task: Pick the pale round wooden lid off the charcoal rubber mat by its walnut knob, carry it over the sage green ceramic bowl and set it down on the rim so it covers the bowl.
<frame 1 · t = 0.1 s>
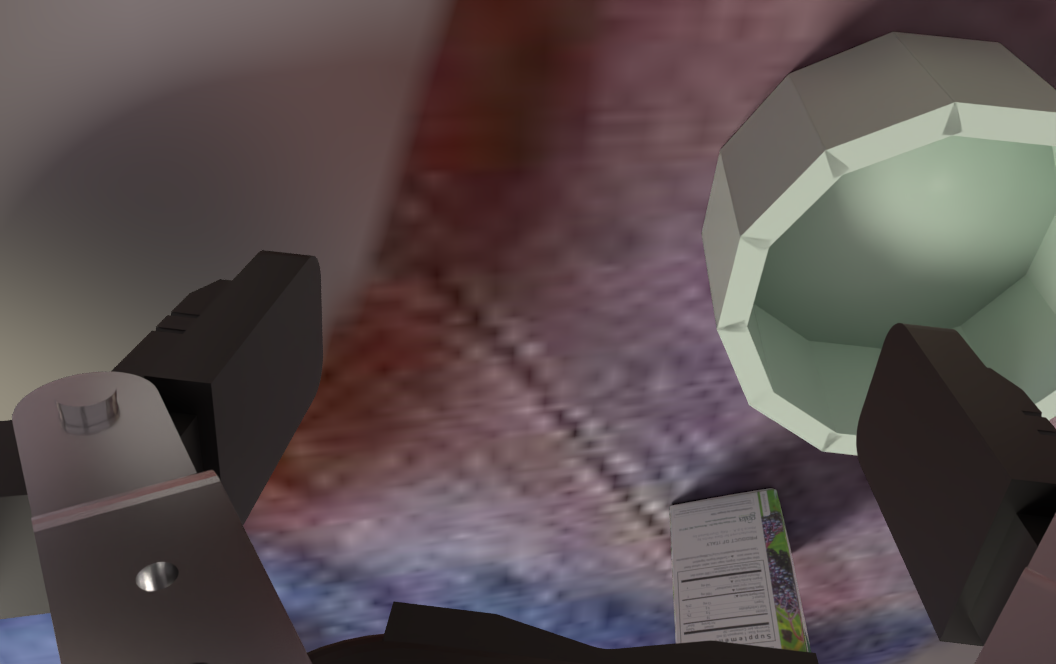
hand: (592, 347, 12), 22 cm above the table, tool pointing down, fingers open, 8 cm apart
bowl: (883, 211, 34), on the table
syrup box: (728, 527, 46), on the table
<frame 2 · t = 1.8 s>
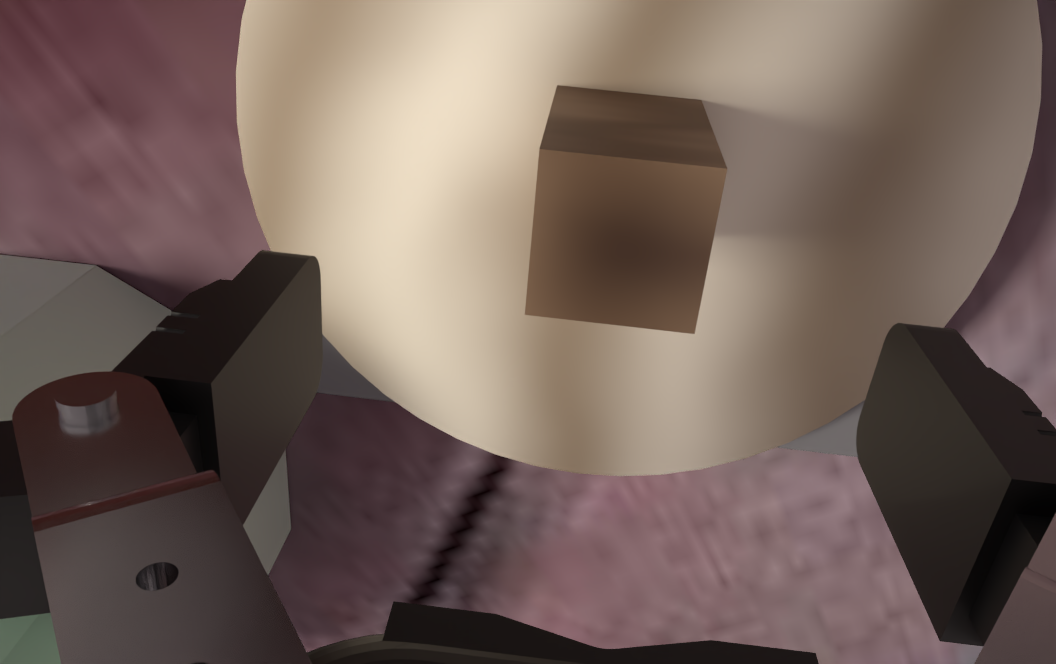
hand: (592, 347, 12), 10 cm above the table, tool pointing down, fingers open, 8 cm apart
bowl: (74, 457, 27), on the table
mat: (619, 143, 21), on the table
lid: (619, 150, 20), point 1 cm above the table, touching mat
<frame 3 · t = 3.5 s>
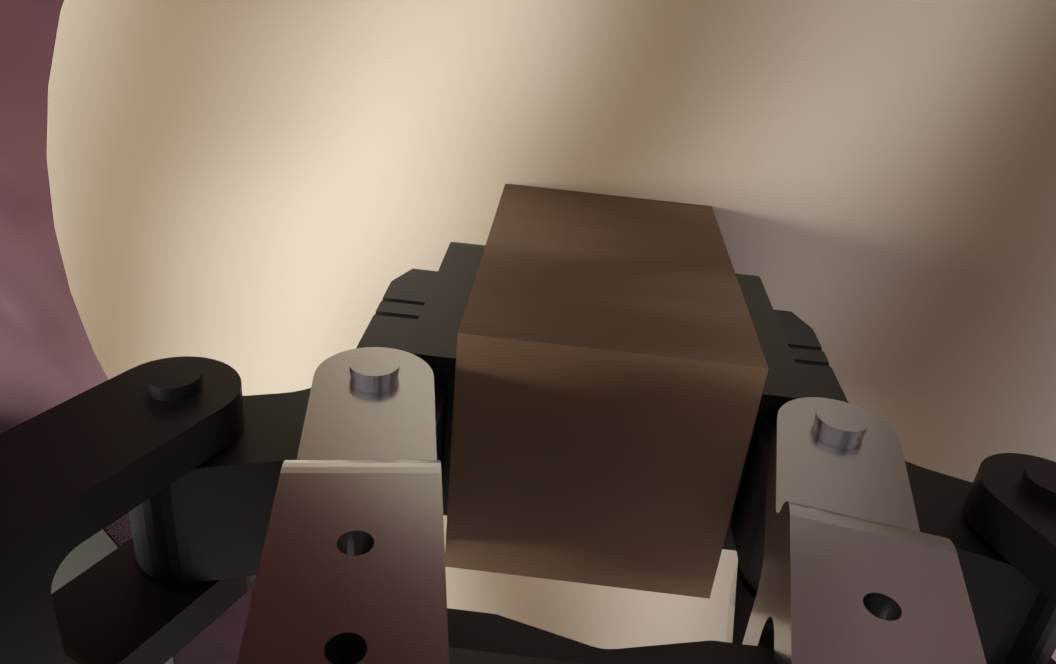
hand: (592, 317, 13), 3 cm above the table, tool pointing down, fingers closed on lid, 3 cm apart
lid: (595, 264, 15), point 1 cm above the table, touching gripper, mat
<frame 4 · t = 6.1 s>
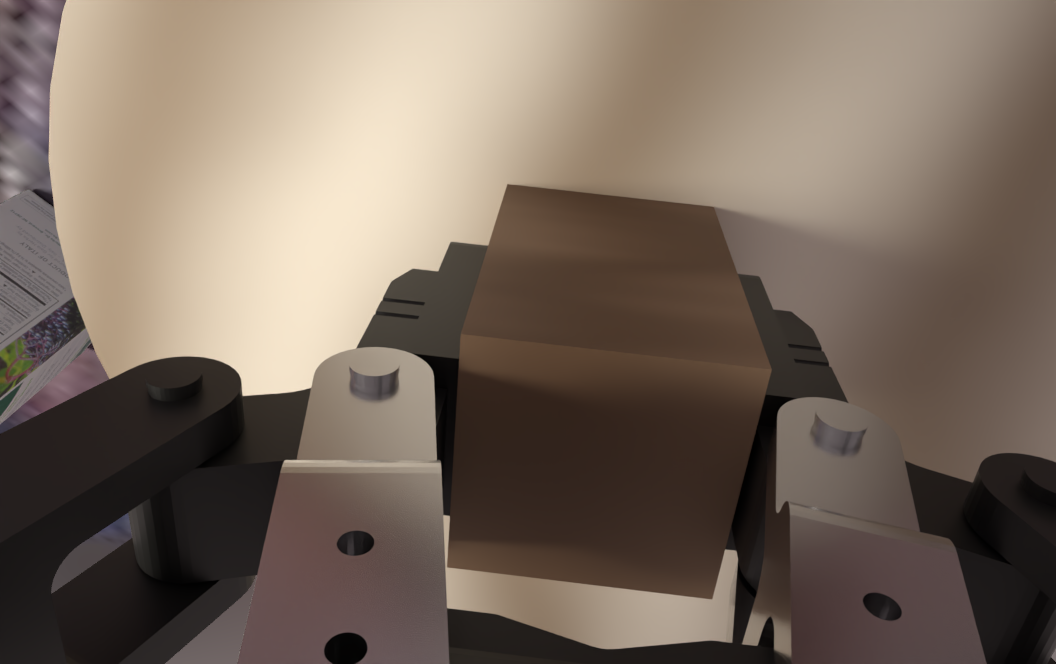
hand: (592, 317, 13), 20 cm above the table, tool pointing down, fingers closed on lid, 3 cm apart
syrup box: (60, 269, 37), on the table
lid: (597, 264, 15), point 18 cm above the table, touching gripper
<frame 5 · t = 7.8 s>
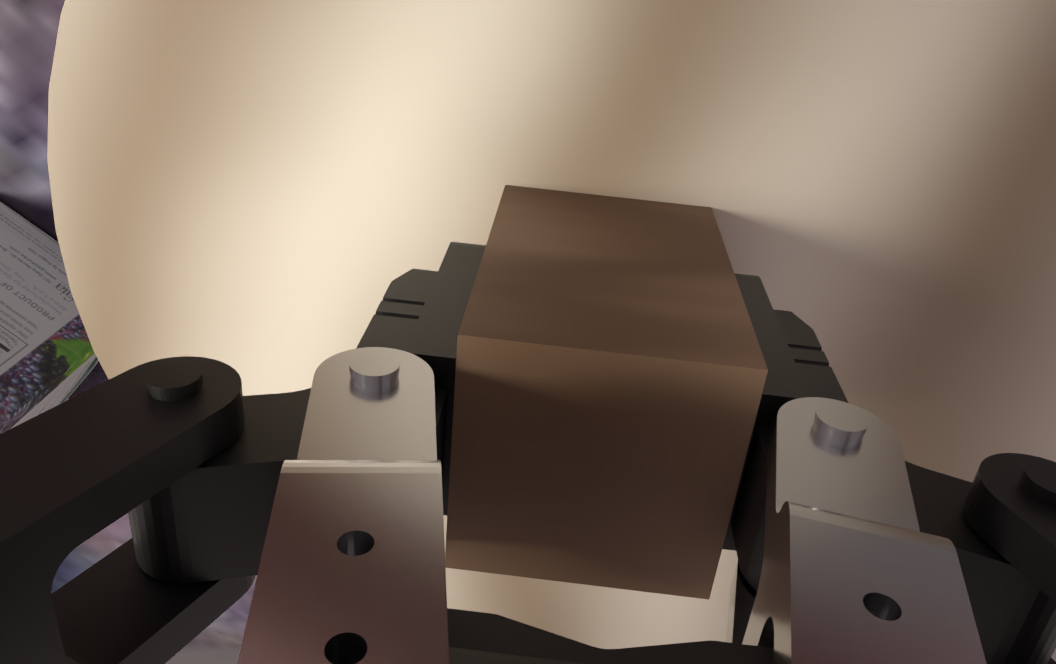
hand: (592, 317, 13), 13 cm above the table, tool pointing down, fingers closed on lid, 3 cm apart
syrup box: (32, 298, 28), on the table
lid: (595, 265, 15), point 10 cm above the table, touching gripper
when the fingers open (11 cm above the table, at t = 8.9 s): lid drops 1 cm, resting on bowl.
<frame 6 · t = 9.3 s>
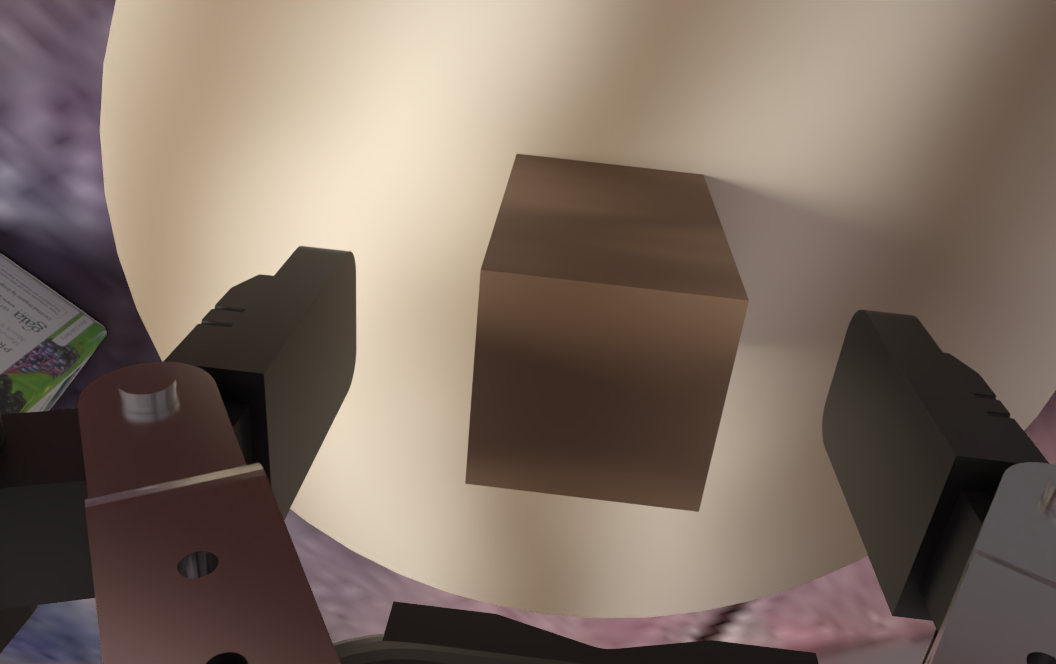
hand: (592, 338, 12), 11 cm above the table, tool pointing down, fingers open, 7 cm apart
lid: (597, 230, 16), point 7 cm above the table, touching bowl
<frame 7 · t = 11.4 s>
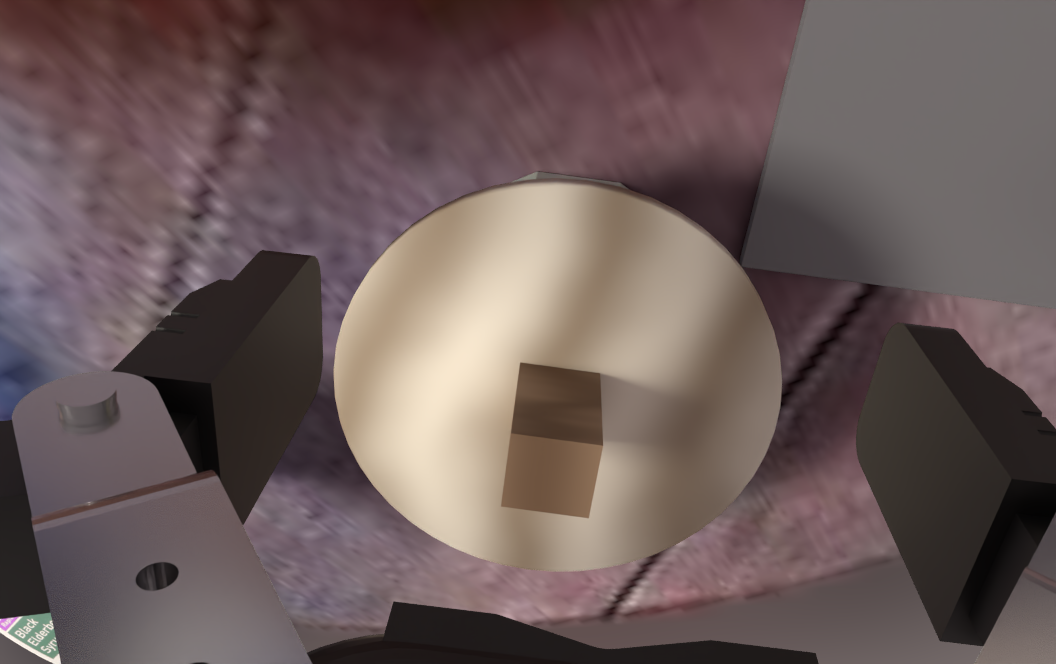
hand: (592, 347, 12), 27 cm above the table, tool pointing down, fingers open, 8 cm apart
bowl: (557, 315, 42), on the table
mat: (969, 113, 36), on the table
syrup box: (201, 402, 45), on the table
lid: (555, 389, 35), point 7 cm above the table, touching bowl
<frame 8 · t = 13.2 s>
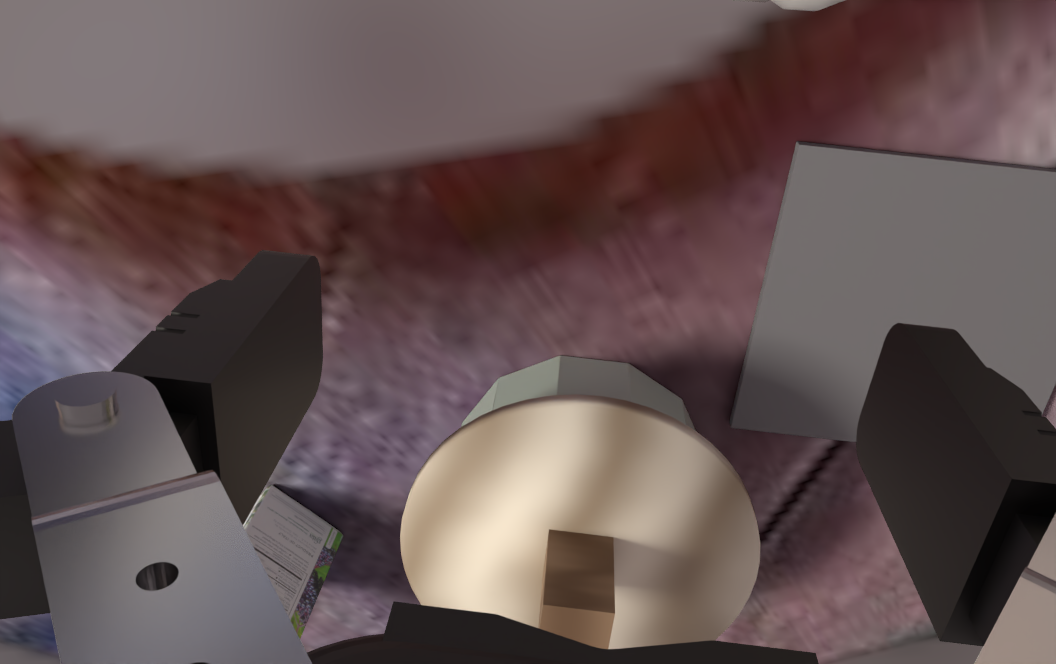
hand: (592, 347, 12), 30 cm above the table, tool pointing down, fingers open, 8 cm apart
bowl: (579, 462, 50), on the table
mat: (915, 310, 44), on the table
syrup box: (283, 529, 54), on the table
lid: (577, 544, 44), point 7 cm above the table, touching bowl
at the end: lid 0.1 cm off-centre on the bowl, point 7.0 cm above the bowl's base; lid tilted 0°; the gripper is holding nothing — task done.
